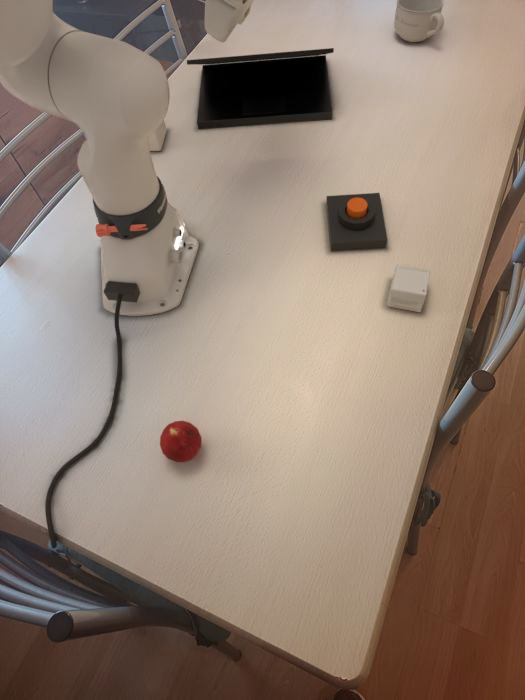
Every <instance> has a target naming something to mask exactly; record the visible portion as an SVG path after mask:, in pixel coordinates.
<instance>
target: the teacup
mask: <svg viewBox="0 0 525 700" xmlns="http://www.w3.org/2000/svg"><path fill="white" fill-rule="evenodd" d="M444 5H445V1H444V0H396V8H395V15H394V20H393V21H394V22H393V23H394V24H393V25H394V31H395V32H396V34H397V35H398V36H399V38H401V40H404V41H406V42H410V43H419V42H423V41H425V40H427V39H428V38H431V37H432V36H433V35H437V34H439V33H440V32H441V31H442V30H443V28H444V25H445V18H444V15H443V14H442V10H443V7H444Z"/></svg>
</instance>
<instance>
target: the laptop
mask: <svg viewBox="0 0 525 700" xmlns="http://www.w3.org/2000/svg"><path fill="white" fill-rule="evenodd" d="M327 61H328V60H327V54H325V55H318V56H306V57H294V58H281V59H269V60H257V61H245V62H233V63H220V64H203V65H202V68H201V76H200V77H201V80H200V86H199V87H200V88H199V98H198V106H197V118H196V125H197V129H198V130H203V129H204V130H205V129H216V128H218V129H219V128H232V127H243V126H245V127H246V126H259V125H272V124H273V125H274V124H284V123H285V124H287V123H298V122H299V123H300V122H312V121H327V120H333V105H332V95H331V88H330V79H329V78H330V77H329V71H328V70H329V69H328V62H327Z"/></svg>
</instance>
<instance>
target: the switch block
mask: <svg viewBox="0 0 525 700" xmlns="http://www.w3.org/2000/svg"><path fill="white" fill-rule="evenodd" d="M352 198H362V199H364V200H366V202H367V204H368V206H367V213H366V215H365V216H364V217H362V218H356V219H355V218H352V217H350V216H348V214H347V203H348V201H349V200H350V199H352ZM325 200H326V201H325V204H326V206H325V207H326V216H327V226H328V228H327V229H328V236H329V248H330V249H329V250H330V252H344V251H362V250H381V249H386V248H387V244H388V235H387V229H386V224H385V218H384V212H383V206H382V205H383V204H382V200H381V194H380V192H370V193H369V192H368V193H354V194H352V193H351V194H338V195H337V194H336V195H326V199H325Z"/></svg>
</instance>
